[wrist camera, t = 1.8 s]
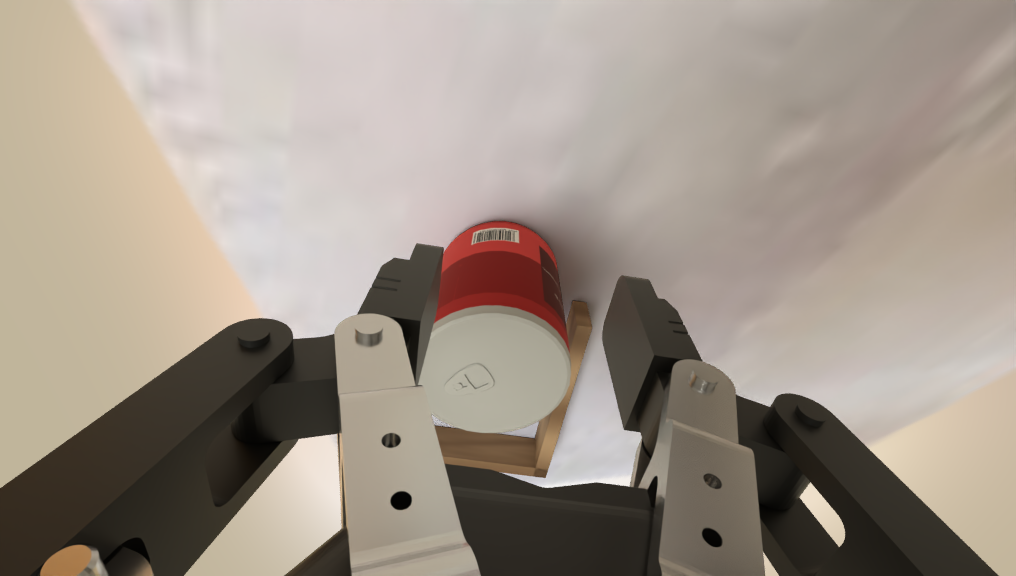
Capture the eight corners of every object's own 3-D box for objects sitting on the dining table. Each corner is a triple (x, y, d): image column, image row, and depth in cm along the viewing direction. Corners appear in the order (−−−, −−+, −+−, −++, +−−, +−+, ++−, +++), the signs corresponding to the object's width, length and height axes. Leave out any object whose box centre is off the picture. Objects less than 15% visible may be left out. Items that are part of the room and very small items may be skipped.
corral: (400, 274, 33) (390, 298, 31) (586, 302, 34) (592, 327, 32) (391, 428, 41) (383, 457, 38) (543, 448, 42) (545, 477, 39)
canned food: (416, 268, 33) (375, 376, 24) (502, 191, 30) (494, 280, 21) (494, 335, 36) (486, 457, 26) (580, 271, 33) (604, 381, 24)
